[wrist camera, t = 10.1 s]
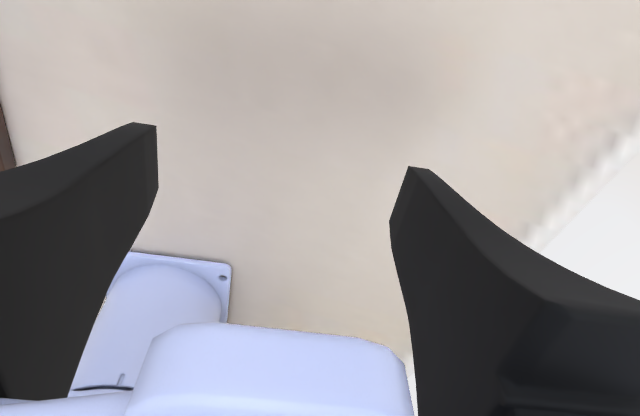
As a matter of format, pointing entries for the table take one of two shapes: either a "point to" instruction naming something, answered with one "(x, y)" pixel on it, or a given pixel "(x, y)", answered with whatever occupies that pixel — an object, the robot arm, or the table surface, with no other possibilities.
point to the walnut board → (5, 147)
